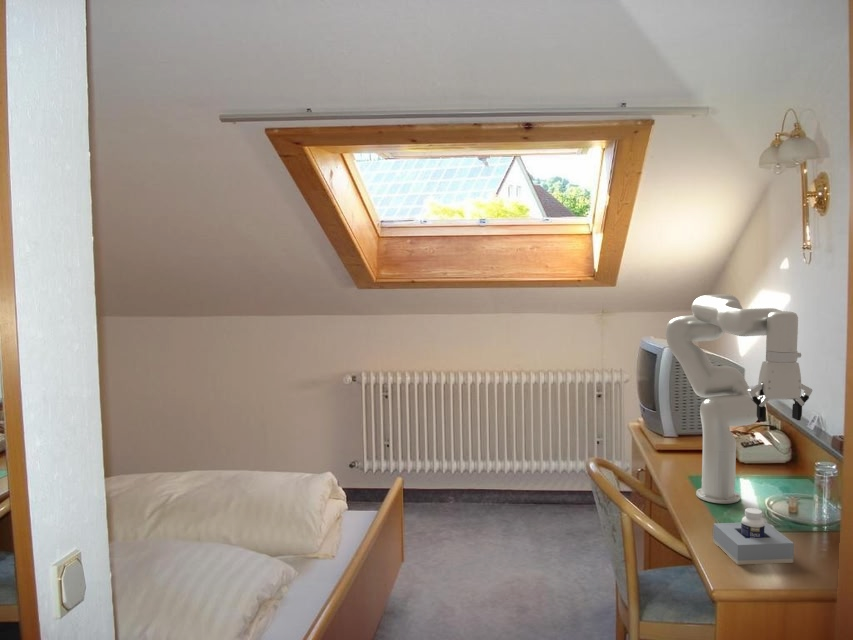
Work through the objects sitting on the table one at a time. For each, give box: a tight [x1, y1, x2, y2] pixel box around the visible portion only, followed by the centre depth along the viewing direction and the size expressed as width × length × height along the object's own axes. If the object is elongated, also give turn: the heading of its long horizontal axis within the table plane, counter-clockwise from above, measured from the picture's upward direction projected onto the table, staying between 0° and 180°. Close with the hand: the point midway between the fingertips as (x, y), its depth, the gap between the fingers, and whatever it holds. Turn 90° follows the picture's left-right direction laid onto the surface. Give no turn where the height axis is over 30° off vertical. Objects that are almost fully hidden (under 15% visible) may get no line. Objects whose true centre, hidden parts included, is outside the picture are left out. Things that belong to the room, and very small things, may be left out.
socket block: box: [712, 521, 795, 566], centre depth 189 cm, size 14×14×5 cm
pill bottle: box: [740, 507, 766, 538], centre depth 189 cm, size 5×5×10 cm
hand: (778, 419), depth 202 cm, fingers open, 9 cm apart
